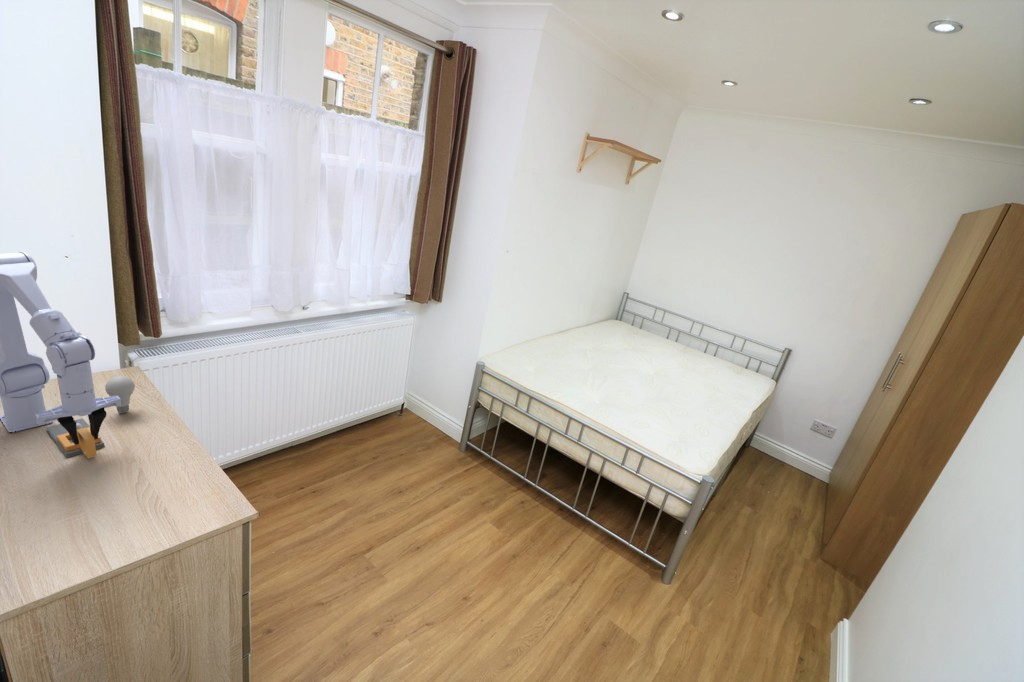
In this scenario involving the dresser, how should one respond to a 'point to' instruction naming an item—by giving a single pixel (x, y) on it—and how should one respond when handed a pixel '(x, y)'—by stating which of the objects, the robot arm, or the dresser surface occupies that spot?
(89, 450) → the orange loop handle block
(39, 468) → the dresser surface
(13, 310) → the robot arm
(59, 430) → the keeper board
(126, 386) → the lightbulb
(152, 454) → the dresser surface
